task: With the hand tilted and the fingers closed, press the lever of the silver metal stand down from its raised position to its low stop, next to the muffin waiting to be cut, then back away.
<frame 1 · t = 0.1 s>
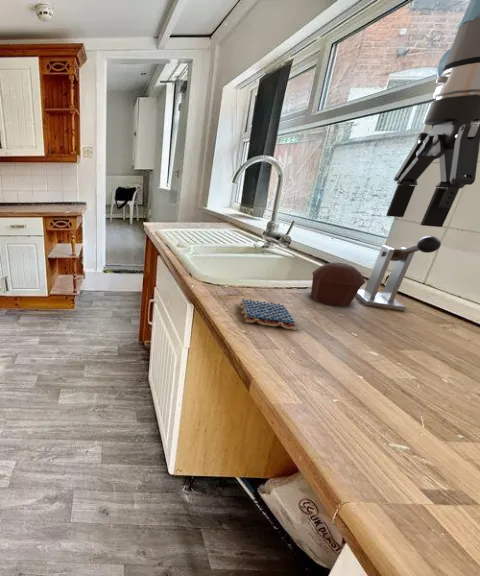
hand: (410, 221, 61), 23 cm above the countertop, tool pointing down, fingers open, 13 cm apart
woven mat: (264, 317, 71), on the countertop
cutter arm: (411, 250, 73), point 16 cm above the countertop, hinge at 25.0°
silver metal stand: (376, 301, 83), on the countertop
muffin: (329, 300, 83), on the countertop
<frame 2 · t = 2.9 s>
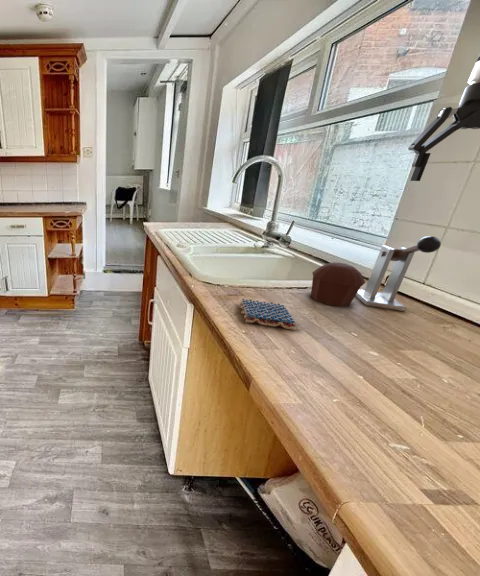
hand: (449, 182, 76), 31 cm above the countertop, tool pointing down, fingers open, 13 cm apart
nothing on the countertop moved.
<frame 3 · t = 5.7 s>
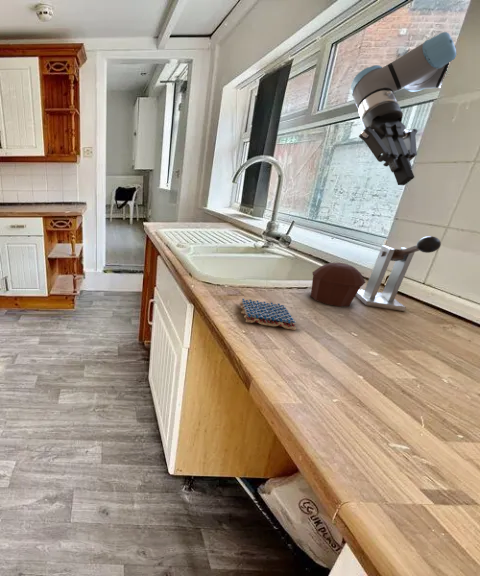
hand: (406, 181, 74), 31 cm above the countertop, tool tilted 45°, fingers closed
nothing on the countertop moved.
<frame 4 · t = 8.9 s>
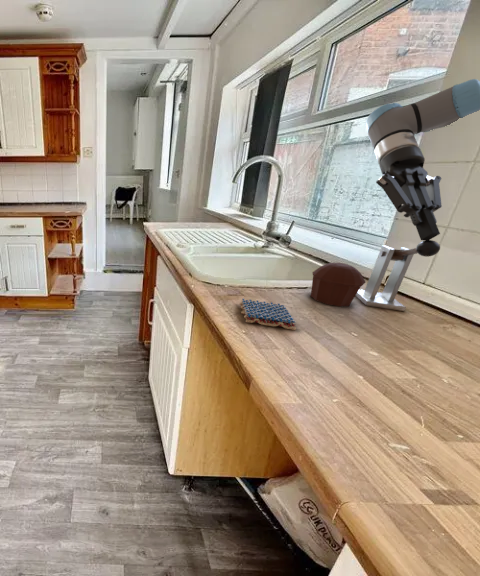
hand: (430, 236, 67), 20 cm above the countertop, tool tilted 45°, fingers closed
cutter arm: (410, 251, 73), point 15 cm above the countertop, hinge at 20.8°
everything else where it was.
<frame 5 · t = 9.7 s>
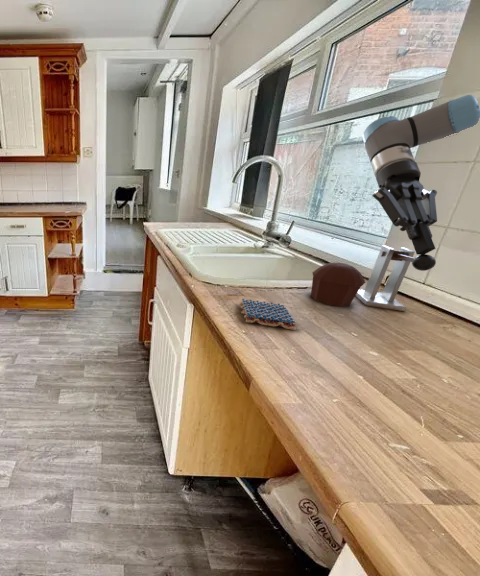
hand: (425, 251, 67), 17 cm above the countertop, tool tilted 45°, fingers closed
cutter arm: (408, 258, 73), point 14 cm above the countertop, hinge at 5.8°, touching gripper
everything else where it was.
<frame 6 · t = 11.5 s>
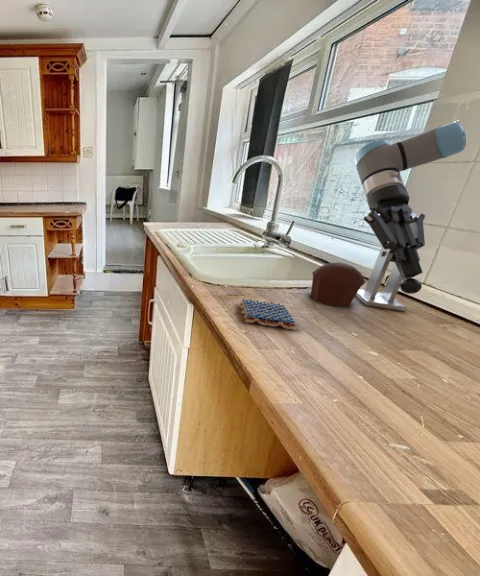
hand: (413, 274, 70), 11 cm above the countertop, tool tilted 45°, fingers closed
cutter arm: (402, 270, 74), point 11 cm above the countertop, hinge at -23.0°, touching gripper
everything else where it was.
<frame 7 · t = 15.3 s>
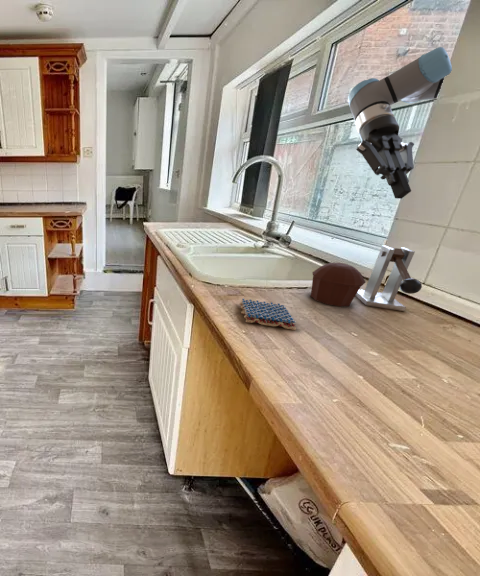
hand: (403, 194, 74), 28 cm above the countertop, tool tilted 45°, fingers closed
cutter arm: (402, 270, 74), point 11 cm above the countertop, hinge at -23.0°
everything else where it was.
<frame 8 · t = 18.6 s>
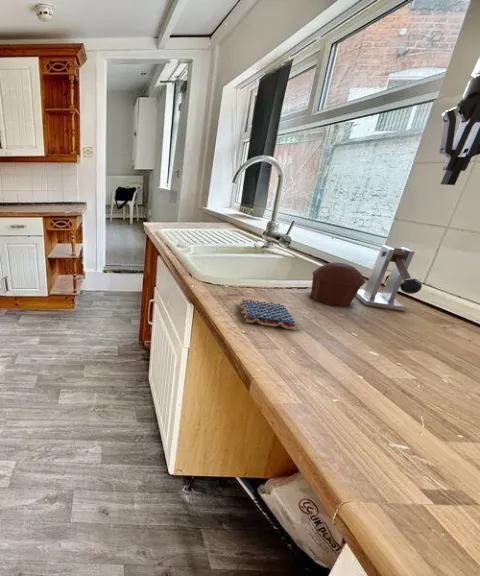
hand: (447, 184, 78), 30 cm above the countertop, tool pointing down, fingers closed
nothing on the countertop moved.
at the end: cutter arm at -23° (first picture: +25°); muffin moved 0.2 cm from its start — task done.
